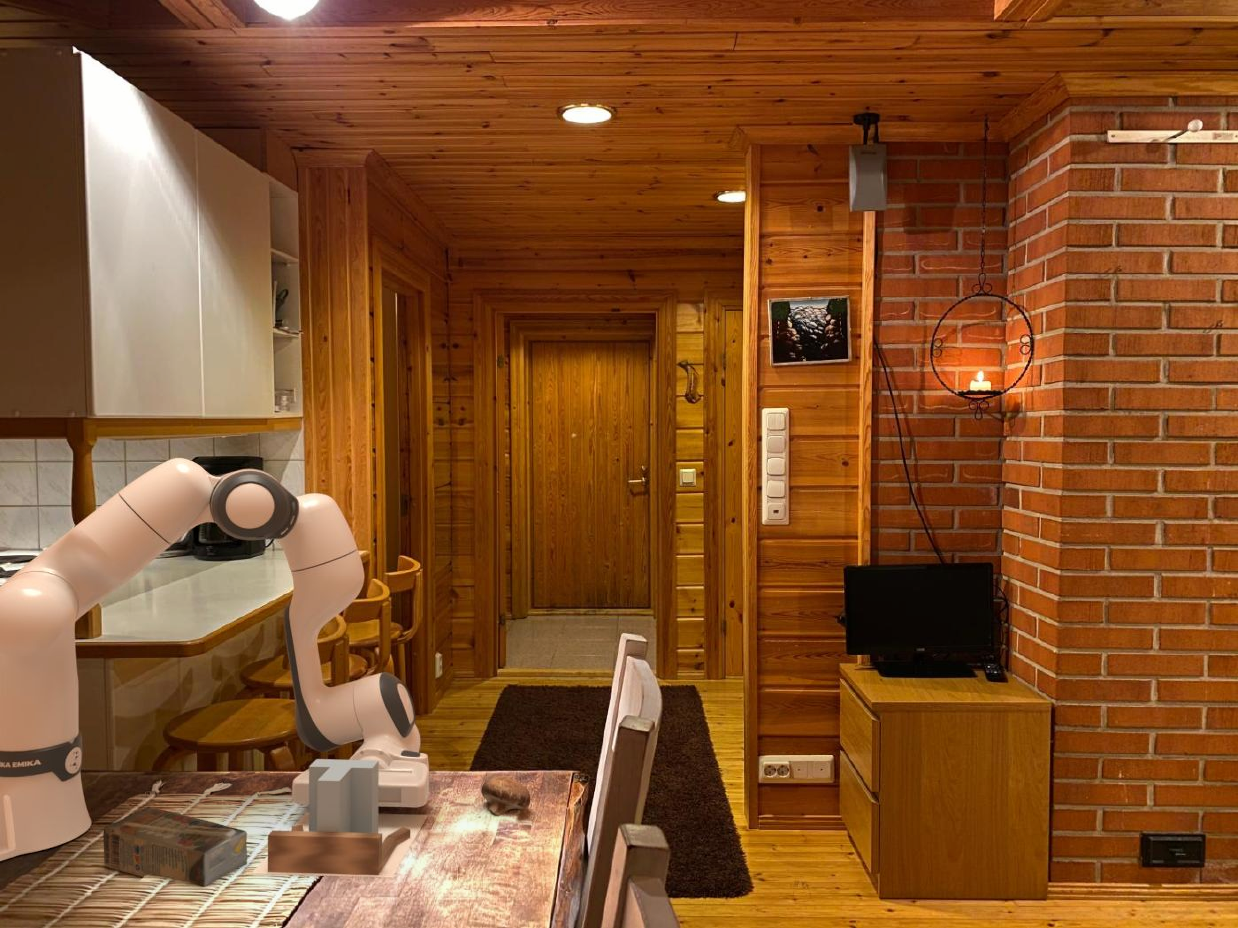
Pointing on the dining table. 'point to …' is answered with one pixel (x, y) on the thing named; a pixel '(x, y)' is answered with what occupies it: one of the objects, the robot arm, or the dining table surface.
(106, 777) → the dining table surface
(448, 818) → the dining table surface
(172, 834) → the beverage carton
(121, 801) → the dining table surface
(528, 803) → the mushroom
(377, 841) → the dock fence
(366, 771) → the tee block
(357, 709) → the robot arm
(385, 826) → the board
